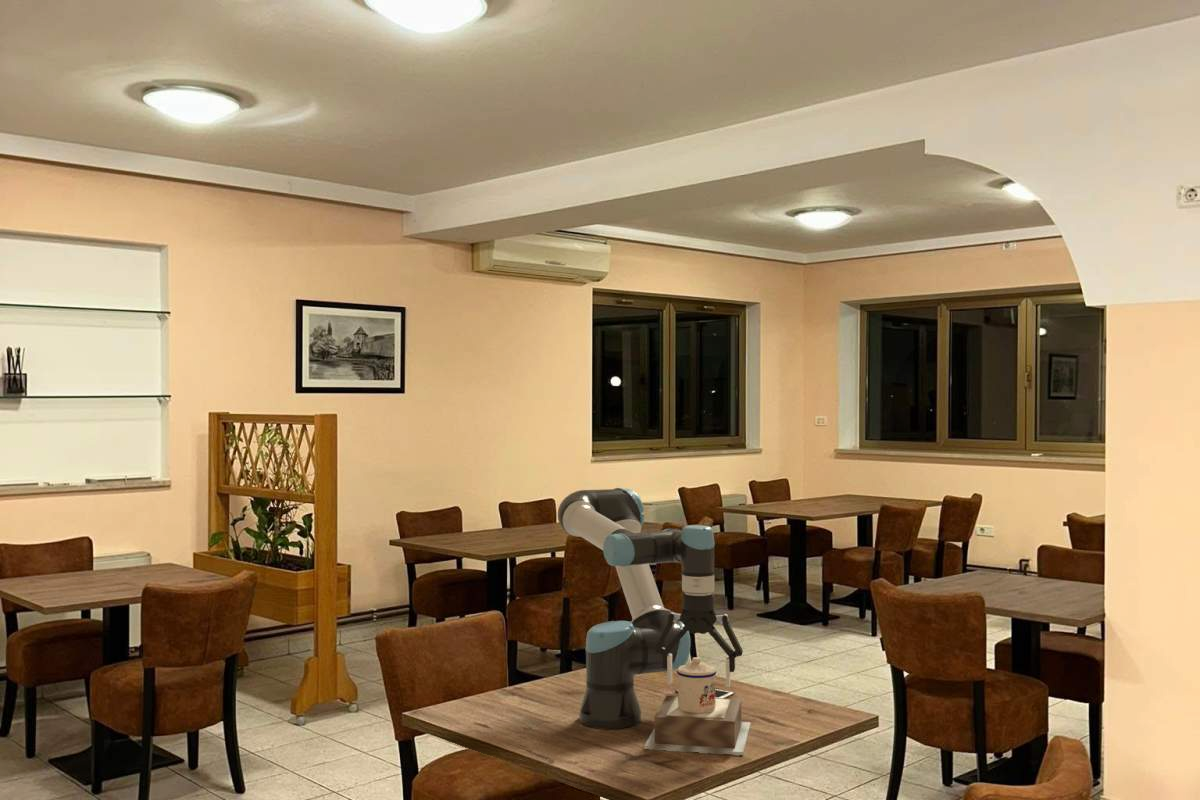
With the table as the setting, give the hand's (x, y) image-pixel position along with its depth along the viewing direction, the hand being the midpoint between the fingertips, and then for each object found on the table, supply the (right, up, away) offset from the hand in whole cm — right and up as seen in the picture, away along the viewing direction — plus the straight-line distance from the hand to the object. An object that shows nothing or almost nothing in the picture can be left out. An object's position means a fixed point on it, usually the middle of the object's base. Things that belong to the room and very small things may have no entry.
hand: (698, 684), depth 244 cm
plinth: (0, -12, 0) cm, 12 cm away
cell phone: (+5, -13, +37) cm, 39 cm away
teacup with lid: (0, -5, 0) cm, 5 cm away
